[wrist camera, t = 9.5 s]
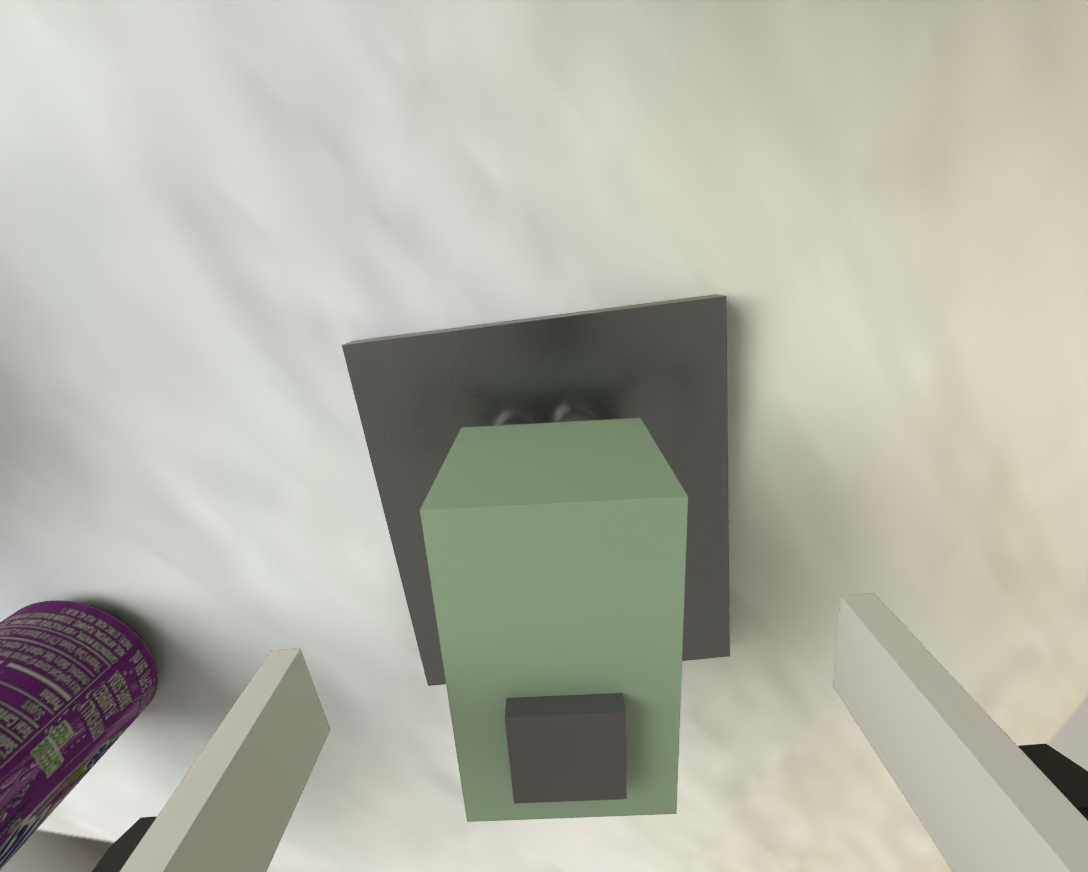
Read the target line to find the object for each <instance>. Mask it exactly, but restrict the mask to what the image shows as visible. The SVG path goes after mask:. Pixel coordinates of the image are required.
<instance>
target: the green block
mask: <svg viewBox="0 0 1088 872" xmlns="http://www.w3.org/2000/svg"><path fill="white" fill-rule="evenodd" d="M687 510H688V496H687V494H686V492H685V491H684V489H683V487H682V486H681V484H680V482H679V481H678V479H677V477H676V476H675V474H674V472H673V471H672V469H671V467H670V466H669V464H668V463H667V461H666V459H665V458H664V456H663V454H662V453H661V451H660V449H659V448H658V446H657V444H656V443H655V441H654V439H653V438H652V436H651V434H650V433H649V431H648V430H647V428H646V426H645V425H644V423H643V421H642V420H641V418H628V419H610V420H592V421H573V422H555V423H537V424H519V425H500V426H482V427H464V428H461V429H460V431H459V433H458V435H457V437H456V439H455V441H454V443H453V445H452V447H451V449H450V451H449V453H448V455H447V457H446V459H445V461H444V463H443V465H442V467H441V469H440V471H439V473H438V475H437V477H436V479H435V481H434V483H433V485H432V487H431V489H430V491H429V493H428V495H427V497H426V499H425V501H424V503H423V505H422V507H421V509H420V515H421V521H422V528H423V535H424V541H425V548H426V554H427V561H428V567H429V574H430V581H431V587H432V594H433V600H434V607H435V613H436V620H437V627H438V633H439V640H440V646H441V653H442V659H443V666H444V673H445V679H446V686H447V692H448V699H449V705H450V712H451V719H452V725H453V732H454V738H455V745H456V751H457V758H458V764H459V771H460V778H461V784H462V791H463V797H464V804H465V810H466V817H467V822H473V821H499V820H525V819H552V818H578V817H604V816H630V815H656V814H676V809H677V782H678V755H679V728H680V700H681V673H682V646H683V619H684V592H685V565H686V538H687Z"/></svg>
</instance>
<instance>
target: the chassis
mask: <svg viewBox="0 0 1088 872" xmlns="http://www.w3.org/2000/svg"><path fill="white" fill-rule="evenodd" d="M342 347H343V351H344V355H345V359H346V363H347V367H348V371H349V375H350V379H351V383H352V387H353V391H354V395H355V399H356V403H357V407H358V411H359V415H360V418H361V422H362V426H363V430H364V434H365V438H366V442H367V446H368V450H369V454H370V458H371V462H372V466H373V470H374V474H375V478H376V482H377V486H378V490H379V494H380V497H381V501H382V505H383V509H384V513H385V517H386V521H387V525H388V529H389V533H390V537H391V541H392V545H393V549H394V553H395V557H396V561H397V565H398V569H399V573H400V577H401V580H402V584H403V588H404V592H405V596H406V600H407V604H408V608H409V612H410V616H411V620H412V624H413V628H414V632H415V636H416V640H417V644H418V648H419V652H420V656H421V660H422V663H423V667H424V671H425V675H426V679H427V683H428V686H431V685H441V684H446V679H445V673H444V666H443V659H442V653H441V646H440V640H439V633H438V627H437V620H436V613H435V607H434V600H433V594H432V587H431V581H430V574H429V567H428V561H427V554H426V548H425V541H424V535H423V528H422V521H421V515H420V509H421V507H422V505H423V503H424V501H425V499H426V497H427V495H428V493H429V491H430V489H431V487H432V485H433V483H434V481H435V479H436V477H437V475H438V473H439V471H440V469H441V467H442V465H443V463H444V461H445V459H446V457H447V455H448V453H449V451H450V449H451V447H452V445H453V443H454V441H455V439H456V437H457V435H458V433H459V431H460V429H461V428H464V427H482V426H500V425H519V424H537V423H555V422H573V421H592V420H610V419H628V418H641V420H642V421H643V423H644V425H645V426H646V428H647V430H648V431H649V433H650V434H651V436H652V438H653V439H654V441H655V443H656V444H657V446H658V448H659V449H660V451H661V453H662V454H663V456H664V458H665V459H666V461H667V463H668V464H669V466H670V467H671V469H672V471H673V472H674V474H675V476H676V477H677V479H678V481H679V482H680V484H681V486H682V487H683V489H684V491H685V492H686V494H687V496H688V510H687V538H686V565H685V592H684V619H683V646H682V661H686V660H696V659H706V658H716V657H726V656H730V639H729V538H728V437H727V336H726V296H723V295H718V294H716V295H708V296H700V297H692V298H685V299H677V300H669V301H661V302H653V303H646V304H638V305H630V306H622V307H614V308H607V309H599V310H591V311H583V312H576V313H568V314H560V315H552V316H544V317H537V318H529V319H521V320H513V321H505V322H498V323H490V324H482V325H474V326H466V327H459V328H451V329H443V330H435V331H427V332H420V333H412V334H404V335H396V336H388V337H381V338H373V339H365V340H357V341H351V342H349V343H346V344H344V345H342Z"/></svg>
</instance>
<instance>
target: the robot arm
mask: <svg viewBox="0 0 1088 872" xmlns="http://www.w3.org/2000/svg"><path fill="white" fill-rule="evenodd" d="M833 687H834V689H835V690H836V692H837V693H838V695H839V696H840V698H841V699H842V701H843V703H844V704H845V706H846V707H847V709H848V710H849V712H850V713H851V715H852V716H853V718H854V720H855V721H856V723H857V724H858V726H859V727H860V729H861V730H862V732H863V733H864V735H865V737H866V738H867V740H868V741H869V743H870V744H871V746H872V747H873V749H874V751H875V752H876V754H877V755H878V757H879V758H880V760H881V761H882V763H883V764H884V766H885V768H886V769H887V771H888V772H889V774H890V775H891V777H892V778H893V780H894V781H895V783H896V785H897V786H898V788H899V789H900V791H901V792H902V794H903V795H904V797H905V799H906V800H907V802H908V803H909V805H910V806H911V808H912V809H913V811H914V812H915V814H916V816H917V817H918V819H919V820H920V822H921V823H922V825H923V826H924V828H925V829H926V831H927V833H928V834H929V836H930V837H931V839H932V840H933V842H934V843H935V845H936V847H937V848H938V850H939V851H940V853H941V854H942V856H943V857H944V859H945V860H946V862H947V864H948V865H949V867H950V868H951V870H952V871H953V872H1088V771H1086V770H1085V769H1083V768H1082V767H1080V766H1079V765H1077V764H1076V763H1074V762H1073V761H1071V760H1070V759H1068V758H1067V757H1065V756H1064V755H1062V754H1061V753H1059V752H1058V751H1056V750H1055V749H1053V748H1052V747H1050V746H1049V745H1047V744H1036V745H1023V746H1017V745H1016V744H1015V743H1014V742H1013V741H1012V739H1011V738H1010V737H1009V736H1008V735H1007V734H1006V733H1005V732H1004V731H1003V730H1002V729H1001V728H1000V727H999V726H998V725H997V724H996V722H995V721H994V720H993V719H992V718H991V717H990V716H989V715H988V714H987V713H986V712H985V711H984V710H983V709H982V708H981V706H980V705H979V704H978V703H977V702H976V701H975V700H974V699H973V698H972V697H971V696H970V695H969V694H968V693H967V692H966V690H965V689H964V688H963V687H962V686H961V685H960V684H959V683H958V682H957V681H956V680H955V679H954V678H953V677H952V676H951V674H950V673H949V672H948V671H947V670H946V669H945V668H944V667H943V666H942V665H941V664H940V663H939V662H938V661H937V660H936V658H935V657H934V656H933V655H932V654H931V653H930V652H929V651H928V650H927V649H926V648H925V647H924V646H923V645H922V644H921V642H920V641H919V640H918V639H917V638H916V637H915V636H914V635H913V634H912V633H911V632H910V631H909V630H908V629H907V628H906V626H905V625H904V624H903V623H902V622H901V621H900V620H899V619H898V618H897V617H896V616H895V615H894V614H893V613H892V612H891V610H890V609H889V608H888V607H887V606H886V605H885V604H884V603H883V602H882V601H881V600H880V599H879V598H878V597H877V596H876V594H875V593H869V594H859V595H848V596H841V599H840V610H839V621H838V632H837V642H836V653H835V664H834V675H833ZM329 731H330V727H329V725H328V722H327V719H326V716H325V714H324V711H323V708H322V706H321V703H320V700H319V697H318V695H317V692H316V689H315V687H314V684H313V681H312V678H311V676H310V673H309V670H308V668H307V665H306V662H305V659H304V657H303V654H302V651H301V649H300V648H298V649H287V650H277V651H270V653H269V654H268V656H267V657H266V659H265V660H264V661H263V663H262V664H261V666H260V667H259V669H258V670H257V672H256V673H255V675H254V676H253V678H252V679H251V680H250V682H249V683H248V685H247V686H246V688H245V689H244V691H243V692H242V694H241V695H240V697H239V698H238V699H237V701H236V702H235V704H234V705H233V707H232V708H231V710H230V711H229V713H228V714H227V716H226V717H225V718H224V720H223V721H222V723H221V724H220V726H219V727H218V729H217V730H216V732H215V733H214V735H213V736H212V737H211V739H210V740H209V742H208V743H207V745H206V746H205V748H204V749H203V751H202V752H201V753H200V755H199V756H198V758H197V759H196V761H195V762H194V764H193V765H192V767H191V768H190V770H189V771H188V772H187V774H186V775H185V777H184V778H183V780H182V781H181V783H180V784H179V786H178V787H177V789H176V790H175V791H174V793H173V794H172V796H171V797H170V799H169V800H168V802H167V803H166V805H165V806H164V808H163V809H162V810H161V812H160V813H159V815H158V816H157V817H145V818H140V819H139V820H138V821H137V822H136V823H135V824H134V825H133V826H132V827H131V828H130V829H129V830H127V831H126V832H125V833H124V834H123V835H122V836H121V837H120V838H119V839H118V840H117V841H116V842H115V843H114V844H113V845H112V846H111V847H110V848H109V849H108V850H107V852H106V853H105V854H104V856H103V857H102V859H101V860H100V861H99V863H98V864H97V865H96V867H95V868H94V870H93V871H92V872H266V871H267V869H268V867H269V865H270V862H271V860H272V858H273V856H274V853H275V851H276V849H277V847H278V845H279V842H280V840H281V838H282V836H283V833H284V831H285V829H286V827H287V825H288V822H289V820H290V818H291V816H292V813H293V811H294V809H295V807H296V805H297V802H298V800H299V798H300V796H301V793H302V791H303V789H304V787H305V785H306V782H307V780H308V778H309V776H310V774H311V771H312V769H313V767H314V765H315V762H316V760H317V758H318V756H319V754H320V751H321V749H322V747H323V745H324V742H325V740H326V738H327V736H328V734H329Z"/></svg>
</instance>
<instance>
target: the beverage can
mask: <svg viewBox="0 0 1088 872" xmlns="http://www.w3.org/2000/svg"><path fill="white" fill-rule="evenodd" d="M157 684H158V673H157V668H156V664H155V661H154V659H153V656H152V654H151V653H150V651H149V649H148V648H147V646H146V645H145V643H144V642H143V641H142V640H141V638H140V637H139V636H138V635H137V634H136V633H135V632H134V631H133V630H132V629H130V628H129V627H128V626H127V625H125V624H124V623H123V622H121V621H120V620H118V619H117V618H115V617H113V616H112V615H110V614H108V613H106V612H104V611H102V610H99V609H97V608H94V607H91V606H88V605H84V604H80V603H76V602H70V601H45V602H39V603H35V604H31V605H28V606H26V607H24V608H22V609H20V610H18V611H17V612H15V613H14V614H12V615H11V616H9V617H8V618H6V619H5V620H3V621H2V622H0V870H1V868H2V867H3V866H4V865H5V864H6V863H7V862H8V861H9V859H10V858H11V857H12V856H13V855H14V854H15V853H16V852H17V851H18V850H19V848H20V847H21V846H22V845H23V844H24V843H25V842H26V841H27V839H28V838H29V837H30V836H31V835H32V834H33V833H34V832H35V831H36V829H37V828H38V827H39V826H40V825H41V824H42V823H43V822H44V821H45V819H46V818H47V817H48V816H49V815H50V814H51V813H52V812H53V810H54V809H55V808H56V807H57V806H58V805H59V804H60V803H61V802H62V800H63V799H64V798H65V797H66V796H67V795H68V794H69V793H70V792H71V790H72V789H73V788H74V787H75V786H76V785H77V784H78V783H79V781H80V780H81V779H82V778H83V777H84V776H85V775H86V774H87V773H88V771H89V770H90V769H91V768H92V767H93V766H94V765H95V764H96V763H97V761H98V760H99V759H100V758H101V757H102V756H103V755H104V754H105V752H106V751H107V750H108V749H109V748H110V747H111V746H112V745H113V744H114V742H115V741H116V740H117V739H118V738H119V737H120V736H121V735H122V734H123V732H124V731H125V730H126V729H127V728H128V727H129V726H130V725H131V723H132V722H133V721H134V720H135V719H136V718H137V717H138V716H139V715H140V713H141V712H142V711H143V710H144V709H145V708H146V707H147V706H148V705H149V703H150V702H151V701H152V699H153V697H154V695H155V692H156V689H157Z"/></svg>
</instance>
